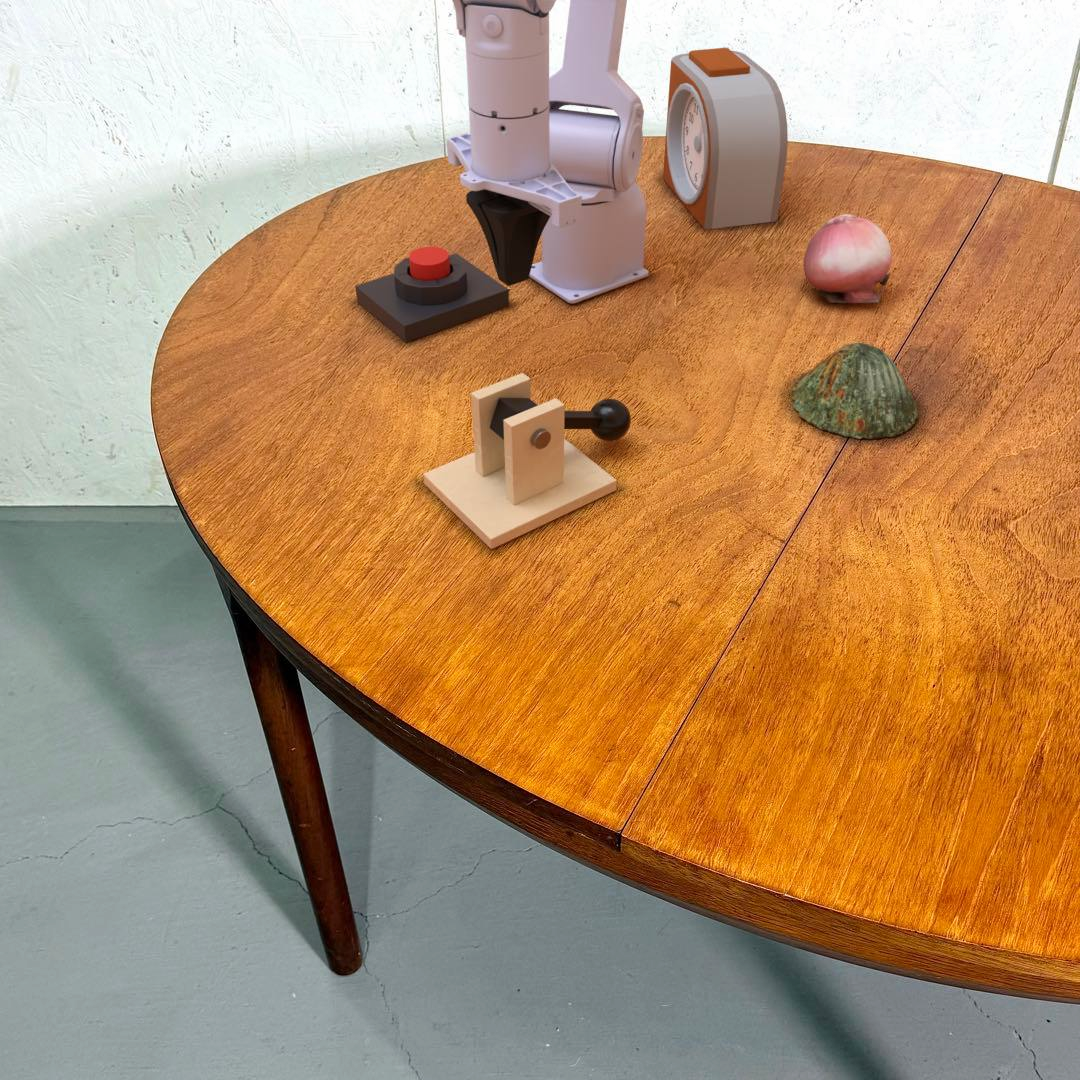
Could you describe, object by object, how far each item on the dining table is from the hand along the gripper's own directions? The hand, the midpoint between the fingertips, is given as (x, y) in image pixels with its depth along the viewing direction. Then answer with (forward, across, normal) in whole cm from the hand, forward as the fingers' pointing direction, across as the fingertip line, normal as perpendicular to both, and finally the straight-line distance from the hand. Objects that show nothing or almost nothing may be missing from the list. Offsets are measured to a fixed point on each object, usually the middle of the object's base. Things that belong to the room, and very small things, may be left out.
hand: (513, 279), depth 84 cm
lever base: (+8, +13, -9) cm, 18 cm away
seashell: (+9, +20, +19) cm, 29 cm away
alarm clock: (+9, -16, +37) cm, 41 cm away
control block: (+8, -14, 0) cm, 16 cm away
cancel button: (+5, -14, 0) cm, 15 cm away
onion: (+9, +7, +32) cm, 34 cm away
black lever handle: (+6, +13, -5) cm, 15 cm away
